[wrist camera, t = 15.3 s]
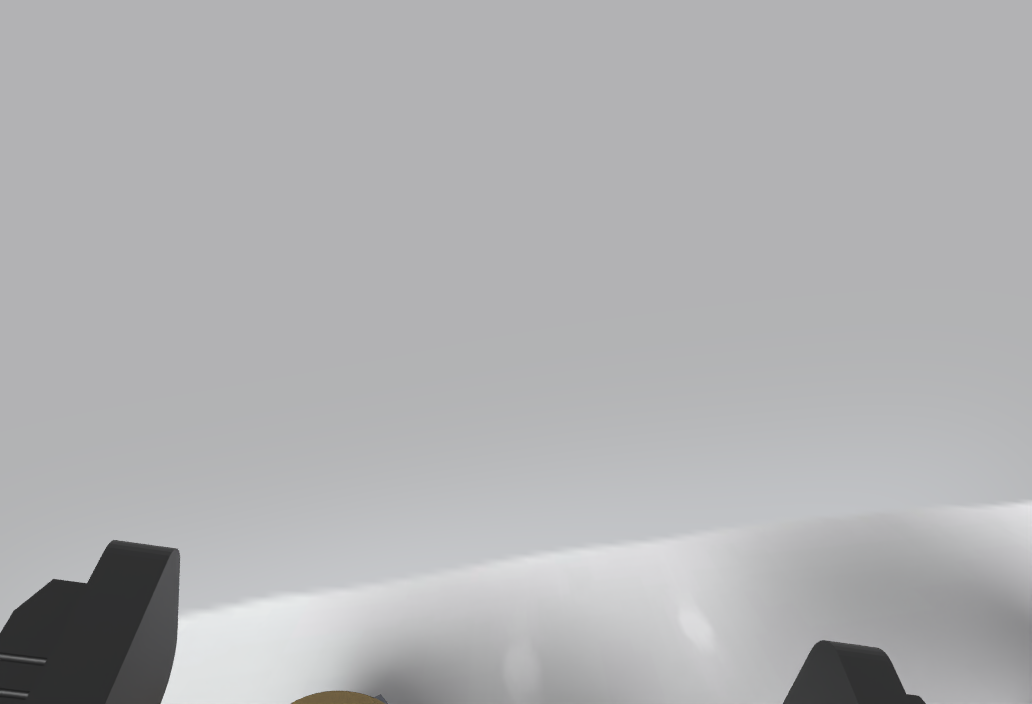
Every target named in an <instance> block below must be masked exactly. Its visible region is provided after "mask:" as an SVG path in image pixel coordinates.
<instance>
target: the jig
mask: <svg viewBox="0 0 1032 704" xmlns="http://www.w3.org/2000/svg"><path fill="white" fill-rule="evenodd" d="M375 698H376V699H378V700H380V701H382V702H384V703H385V704H388V703H387V702H386V701H385V699H384V698H383V697H382V696H381V694H380V695H379V696H377V697H375Z"/></svg>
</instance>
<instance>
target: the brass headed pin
mask: <svg viewBox="0 0 1032 704" xmlns="http://www.w3.org/2000/svg"><path fill="white" fill-rule="evenodd" d="M291 704H385V703H384V702H382V701H380V700H378V699H376V698H373V697H370V696H368V695H364V694H361V693H356V692H349V691H327V692H321V693H316V694H312V695H309V696H306V697H303V698H301V699H299V700H296V701H295V702H293V703H291Z"/></svg>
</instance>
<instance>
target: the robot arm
mask: <svg viewBox="0 0 1032 704" xmlns="http://www.w3.org/2000/svg"><path fill="white" fill-rule="evenodd" d="M179 573H180V553H179V550H178V549H176V548H168V547H161V546H153V545H146V544H139V543H132V542H125V541H118V540H113V541H111V542H110V543H109V545H108V546H107V547H106V549H105V551H104V553H103V554H102V557H101V558H100V560H99V562H98V564H97V566H96V567H95V569H94V571H93V573H92V575H91V577H90V579H89V581H88V583H79V582H71V581H64V580H57V579H53V580H52V581H51V582H49V583H48V584H47V585H46V586H44V587H43V588H42V589H41V590H39V591H38V592H37V593H36V594H34V595H33V596H32V597H31V598H29V599H28V600H27V601H25V602H24V603H23V604H22V605H21V606H19V607H18V608H17V609H15V610H14V611H13V613H12V615H11V616H10V618H9V620H8V622H7V623H6V625H5V626H4V628H3V630H2V631H1V633H0V704H161V701H162V698H163V696H164V693H165V690H166V687H167V684H168V681H169V677H170V673H171V669H172V665H173V661H174V656H175V650H176V643H177V629H178V600H179ZM783 704H926V703H925V702H924V701H923V700H922V699H921V698H920V697H919V696H916V695H908V694H906V692H905V690H904V688H903V686H902V684H901V682H900V680H899V677H898V675H897V673H896V671H895V669H894V667H893V665H892V663H891V661H890V659H889V657H888V656H887V654H886V653H885V652H884V651H883V650H881V649H879V648H875V647H868V646H861V645H854V644H847V643H839V642H832V641H825V640H822V641H819V642H818V643H816V644H815V645H814V647H813V648H812V650H811V651H810V653H809V655H808V657H807V659H806V661H805V663H804V665H803V667H802V669H801V670H800V672H799V674H798V676H797V678H796V680H795V682H794V684H793V686H792V687H791V689H790V691H789V693H788V695H787V697H786V699H785V701H784V703H783Z"/></svg>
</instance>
